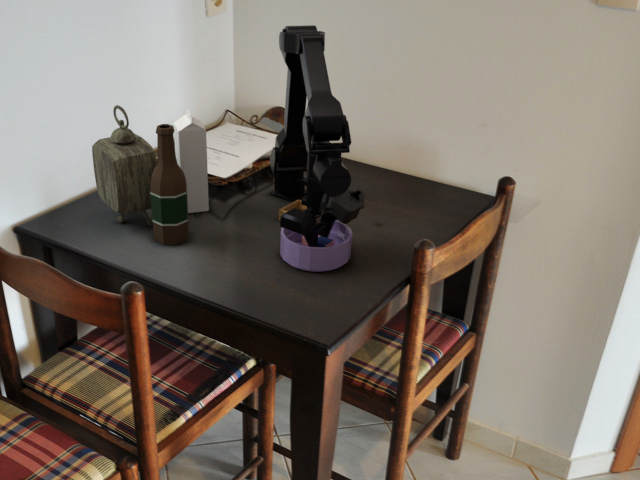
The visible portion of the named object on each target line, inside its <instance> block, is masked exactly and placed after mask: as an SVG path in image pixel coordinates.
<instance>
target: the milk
mask: <svg viewBox="0 0 640 480" xmlns="http://www.w3.org/2000/svg"><path fill="white" fill-rule="evenodd" d="M173 127H174V133H173V137H174V146H175V154H176V160H177V164H178V165H179V167H180V168H181V169H182V170H183V173H184V175H185V177H186V184H187V201H188V214H195V213H203V212H209V211H210V206H209V205H210V202H209V173H208V146H207V144H208V143H207V128H206V127H205V126H204V124H203V123H202V121H201V120H200V119H198V118H196V117H194V116H193V115H192V114H191V112H190V110H189V108H188V107H185V114H184V115H183V116H181V117H180V118H178V119H177V120H175V121H174V122H173Z"/></svg>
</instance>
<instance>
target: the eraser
mask: <svg viewBox="0 0 640 480" xmlns="http://www.w3.org/2000/svg"><path fill="white" fill-rule="evenodd" d="M334 244H335V241H334V240H331V239H329V238H326V237H323V236H320V235H318V242H317V247H329V246H334ZM302 245H304V246H308V244H307V242H306V240H305V238H304V237H302Z"/></svg>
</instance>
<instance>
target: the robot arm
mask: <svg viewBox="0 0 640 480" xmlns="http://www.w3.org/2000/svg"><path fill="white" fill-rule="evenodd" d="M278 47H279V50H280V51H281V52H280V53H281V55H282V58H283V61H284V64H285V65H286V67H287V73H286V87H285V103H284V104H285V105H284V117H283V127H282V129H281V130H280V131H279V132H278V134H277V135H276V137H275V142H274V146H273V147H272V149H271V153H270V155H269V166H270V167H269V168H270V170H271V172H272V174H274V181H273V182H274V187H273V190H271V191H270V192H269V194H270V195H271V196H274V197H278V198H280V199H282V200H286V201H289V202H294V201H296V200H298V198H300V197H303V196H304V195H305V197H304V198H301V199H300V200H301V205H304V206H307V209H305V210H300V209H297V208H293V209H291V210H289V211H288V212H286V213H284V214H283V215H281V216H280V220H279V226H280V228H285V229H288V230H291V231H293V232H296V233H299V234H302V235H304V238H305V240H306V242H307V244H308V246H309V247H317V242H318V235H320V236H323V237H326V238H328V237H329V234H330V232H331V229H332V227H333V225H334V223H335V221H336V220H338V221H340V222H341V223H344V224H346V225H348V224H349V223H350V222H351V221H353V220H355V219H357V218H358V215H359V213H360V212H361V210H363V209H365V192H364V191H363V189H360V188H358V189H357V188H356V190H353V189H350V187H351V184H352V176H351V173H350V171H349V169H348V168H347V167H346V165H345V164H344V163H343V160H342V154H350V152H351V150H350V146H351V144H352V136H351V132H350V131H351V130H350V124H349V121H348V120H347V116H346V115H345V114H344V111H343V107H342V104H341V102H340V101H339V99H337V97H335V96H334V95H333V92H332V89H331V84H330V79H329V78H330V77H329V73H328V67H327V62H326V57H325V49H326V48H325V47H326V32H325V31H322V30H318V28H317V26H316V25H315V24H314V25H285V27H284V28H283V29H282V31H280V32H279V35H278ZM336 141H337V142H336ZM339 141H341V142H339ZM305 172H306V177H305ZM305 187H306V189H305Z"/></svg>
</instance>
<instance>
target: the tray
mask: <svg viewBox="0 0 640 480" xmlns="http://www.w3.org/2000/svg"><path fill="white" fill-rule="evenodd" d="M301 200H302V199H295V200H294V201H292V202H291V203H288V204H287V205H285V206H283V207H281V208H279V209H278V221H280V216H281V215H283V214H284V213H286V212H288V211H289V210H291V209H293V208H297V209H300V210H305V209H307V206H304V205H301Z"/></svg>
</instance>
